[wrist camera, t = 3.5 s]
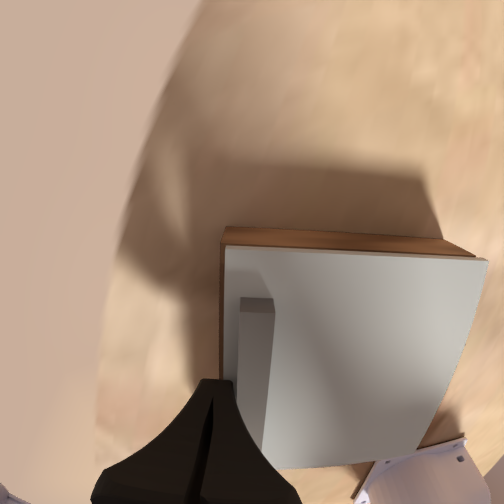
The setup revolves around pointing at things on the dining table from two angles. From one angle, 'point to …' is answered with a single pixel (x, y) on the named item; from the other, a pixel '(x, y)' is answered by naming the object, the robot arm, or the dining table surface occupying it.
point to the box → (324, 242)
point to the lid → (343, 348)
